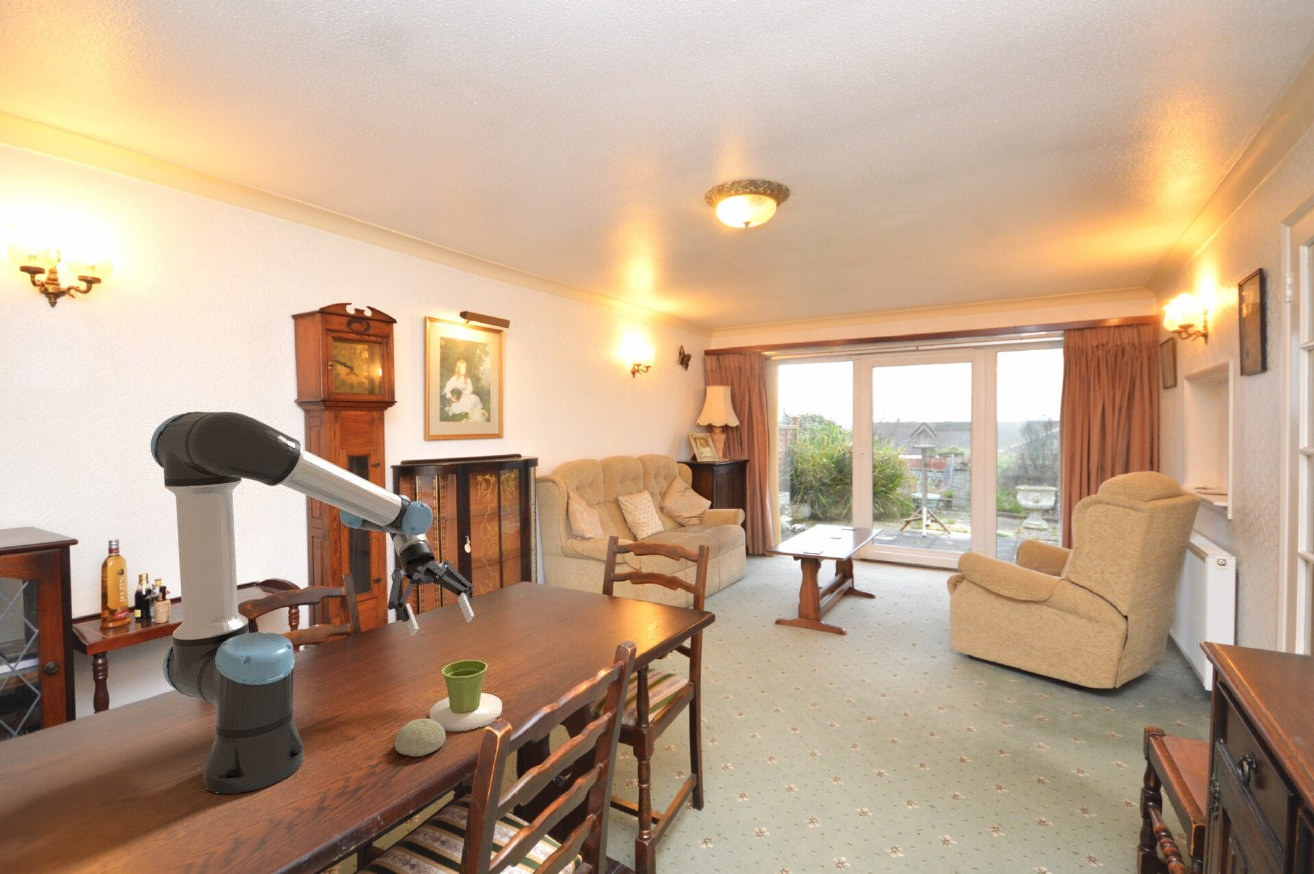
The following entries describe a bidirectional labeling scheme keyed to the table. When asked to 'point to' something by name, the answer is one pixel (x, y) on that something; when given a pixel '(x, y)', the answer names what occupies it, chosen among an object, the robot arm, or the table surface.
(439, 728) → the sea urchin shell
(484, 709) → the white flat rounded piece
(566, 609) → the table surface
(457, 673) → the plant pot
